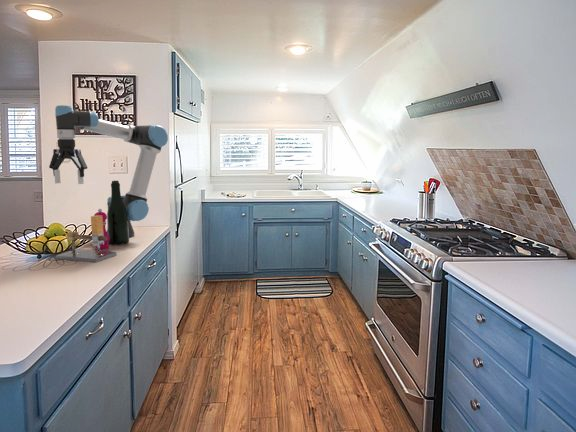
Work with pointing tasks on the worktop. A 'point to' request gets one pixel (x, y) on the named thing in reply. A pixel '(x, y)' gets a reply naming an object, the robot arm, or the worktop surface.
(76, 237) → the wooden rod with block
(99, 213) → the pepper mill
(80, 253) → the bolt plate
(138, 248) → the worktop surface
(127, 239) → the beer bottle
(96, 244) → the block
